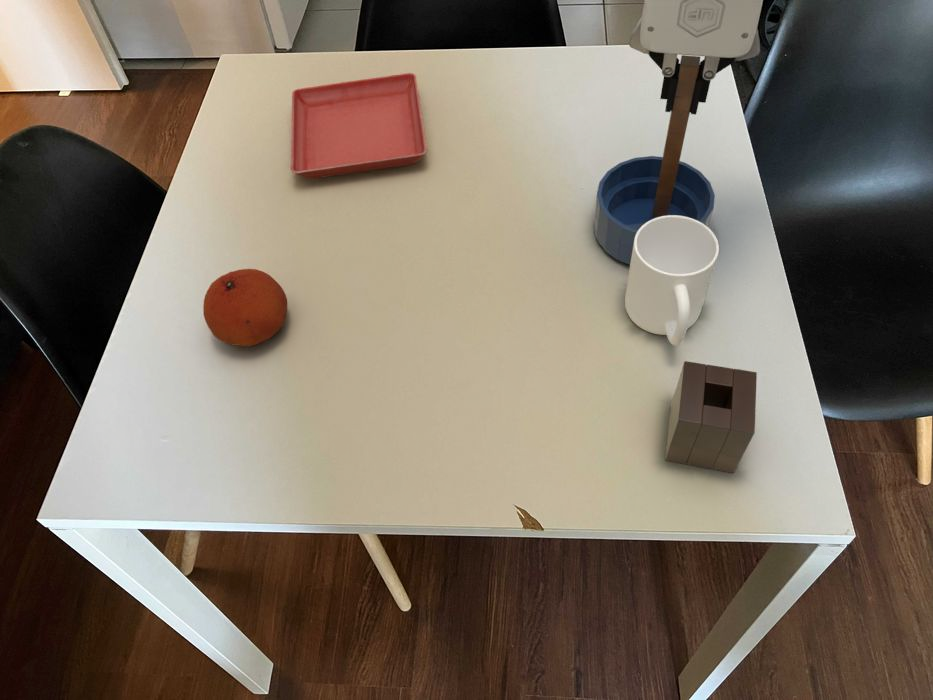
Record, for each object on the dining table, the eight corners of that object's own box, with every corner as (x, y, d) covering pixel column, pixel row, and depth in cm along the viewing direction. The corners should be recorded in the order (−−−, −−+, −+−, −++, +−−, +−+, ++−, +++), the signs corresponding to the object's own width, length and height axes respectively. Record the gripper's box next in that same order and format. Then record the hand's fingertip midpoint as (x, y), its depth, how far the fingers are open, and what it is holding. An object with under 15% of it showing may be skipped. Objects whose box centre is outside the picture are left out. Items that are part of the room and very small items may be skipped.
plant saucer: (430, 171, 96) (427, 152, 93) (296, 191, 96) (289, 172, 93) (418, 91, 106) (415, 71, 104) (297, 108, 106) (291, 89, 104)
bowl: (707, 200, 89) (717, 162, 84) (700, 279, 82) (710, 242, 77) (602, 188, 92) (606, 151, 87) (586, 263, 85) (589, 227, 80)
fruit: (218, 366, 80) (190, 323, 74) (218, 306, 85) (192, 260, 79) (296, 350, 81) (275, 306, 74) (292, 291, 86) (272, 245, 79)
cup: (692, 277, 82) (710, 212, 74) (713, 364, 75) (735, 303, 67) (619, 280, 83) (629, 217, 74) (633, 367, 76) (645, 308, 68)
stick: (668, 207, 86) (700, 56, 70) (667, 218, 85) (699, 67, 69) (653, 205, 87) (681, 54, 71) (652, 216, 86) (680, 65, 70)
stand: (736, 415, 72) (756, 372, 65) (733, 473, 68) (754, 433, 62) (670, 404, 73) (684, 360, 66) (664, 460, 70) (678, 419, 63)
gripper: (616, -67, 59) (599, 120, 74) (822, -59, 55) (761, 136, 70) (627, -110, 63) (609, 77, 78) (820, -104, 59) (762, 89, 75)
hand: (681, 103), depth 74 cm, fingers closed on stick, 1 cm apart
